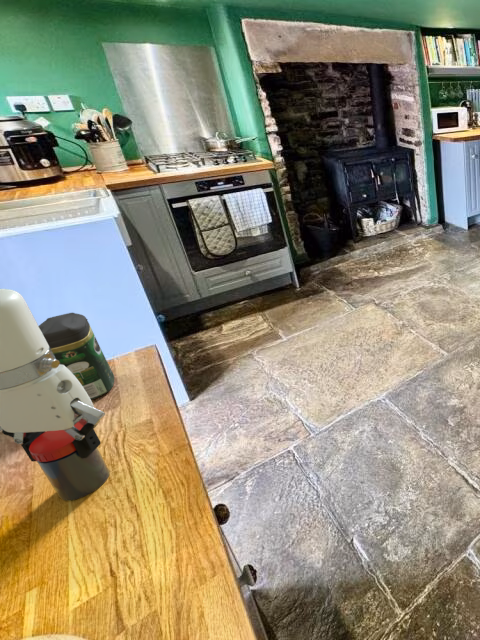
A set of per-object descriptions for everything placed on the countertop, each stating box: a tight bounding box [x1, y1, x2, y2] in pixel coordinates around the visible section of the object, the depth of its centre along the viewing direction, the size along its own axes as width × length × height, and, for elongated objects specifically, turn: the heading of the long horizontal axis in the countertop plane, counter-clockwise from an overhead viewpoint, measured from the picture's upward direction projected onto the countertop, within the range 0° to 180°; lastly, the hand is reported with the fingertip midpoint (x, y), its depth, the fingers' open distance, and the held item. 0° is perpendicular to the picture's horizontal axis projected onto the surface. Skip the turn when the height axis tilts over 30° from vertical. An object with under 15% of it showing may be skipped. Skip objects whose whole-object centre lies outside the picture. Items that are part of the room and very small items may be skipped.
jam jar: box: [36, 447, 111, 502], centre depth 69 cm, size 6×6×11 cm
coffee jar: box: [38, 312, 115, 401], centre depth 88 cm, size 10×8×19 cm
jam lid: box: [29, 422, 83, 462], centre depth 67 cm, size 7×7×2 cm
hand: (67, 452), depth 68 cm, fingers closed on jam lid, 6 cm apart
